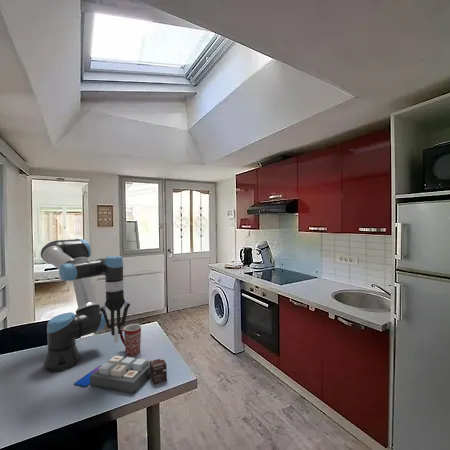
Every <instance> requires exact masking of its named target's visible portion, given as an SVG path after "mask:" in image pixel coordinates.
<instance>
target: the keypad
mask: <svg viewBox="0 0 450 450" xmlns="http://www.w3.org/2000/svg"><path fill="white" fill-rule="evenodd" d="M125 358H126V357H124V359H125ZM136 360H137V359H136V358H135V361H136ZM150 361H151V360H150ZM150 361H149V360H147V366H146V367H145V368H144V369H143V370H142V371H141V372H140V371H139V374H138V375H137V376H136V377H135V378H134V379H128V378H123V376H124V375H125V374H126V373H127V372H128V371H129V370H126V373H125V374H124V375H123V376H122V377H115V376H111V374H110V375H102V374H99V369H98V370H97V371H96V372H94V373H93V374H92V375H90V385H89V387H91V388H96V389H97V388H98V389H104V390H110V391H114V392H120V393H127V394H133V395H134V394H135V393H136V392H137V391H138V390H139V389H140V388H141V387H142V386H143V385H144V384H145V382H146V381H148V380H149V379H150ZM107 363H109V361H107ZM130 370H132V371H133V367H132V368H131V369H130Z"/></svg>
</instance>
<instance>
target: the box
mask: <svg viewBox="0 0 450 450" xmlns="http://www.w3.org/2000/svg"><path fill="white" fill-rule="evenodd" d="M167 366H168V365H167V362H166V361H165V359H164V358H163V357H162V358H157V359H153V360H150V377H149V379H150V380H151V382H152V384H153V385H155V384H159V383H163V382H166V381H167V380H168V378H167V377H168V373H167V372H168V371H167Z"/></svg>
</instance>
